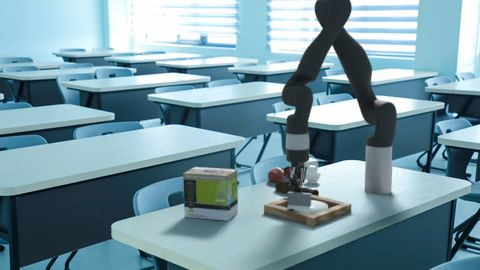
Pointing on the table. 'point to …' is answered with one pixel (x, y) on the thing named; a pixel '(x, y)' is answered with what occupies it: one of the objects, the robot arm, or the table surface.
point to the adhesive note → (311, 163)
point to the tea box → (210, 193)
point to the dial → (305, 203)
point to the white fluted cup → (312, 174)
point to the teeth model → (279, 174)
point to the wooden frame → (312, 220)
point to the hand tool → (292, 188)
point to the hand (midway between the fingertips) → (298, 197)
